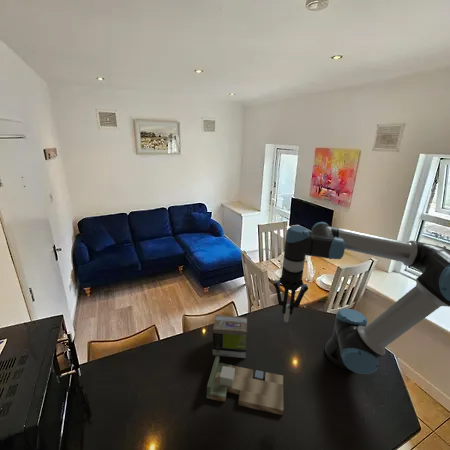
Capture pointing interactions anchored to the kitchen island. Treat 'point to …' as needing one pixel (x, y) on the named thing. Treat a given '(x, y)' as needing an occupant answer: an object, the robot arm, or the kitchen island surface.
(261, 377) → the block
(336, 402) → the kitchen island surface
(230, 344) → the tea box
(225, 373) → the cream block
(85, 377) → the kitchen island surface
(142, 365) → the kitchen island surface
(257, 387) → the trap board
